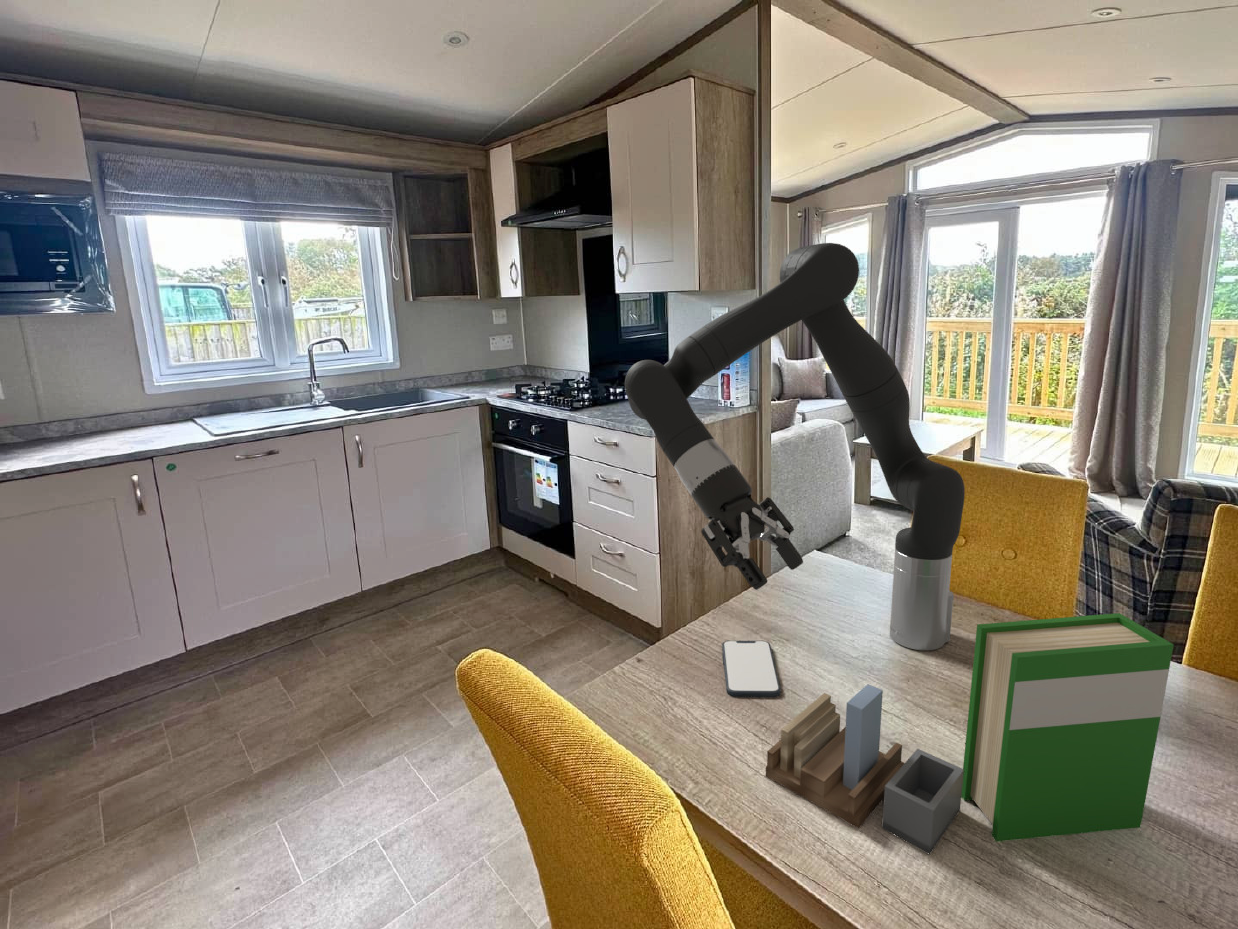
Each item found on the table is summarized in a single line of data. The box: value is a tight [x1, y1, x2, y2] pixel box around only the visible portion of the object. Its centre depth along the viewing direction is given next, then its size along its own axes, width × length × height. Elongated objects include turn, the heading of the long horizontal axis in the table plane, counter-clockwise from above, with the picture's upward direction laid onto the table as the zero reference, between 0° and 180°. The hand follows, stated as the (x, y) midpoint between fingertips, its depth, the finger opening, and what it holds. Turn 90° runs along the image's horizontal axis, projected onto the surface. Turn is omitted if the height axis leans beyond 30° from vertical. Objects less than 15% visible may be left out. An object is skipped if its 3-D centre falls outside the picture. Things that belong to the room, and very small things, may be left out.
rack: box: [765, 726, 905, 829], centre depth 89 cm, size 13×13×4 cm
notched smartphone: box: [721, 640, 782, 699], centre depth 115 cm, size 9×2×16 cm
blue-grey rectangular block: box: [843, 684, 884, 790], centre depth 85 cm, size 2×6×12 cm, turn 134°
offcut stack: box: [780, 692, 841, 778], centre depth 91 cm, size 3×11×6 cm, turn 134°
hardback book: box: [961, 612, 1174, 843], centre depth 79 cm, size 18×7×24 cm, turn 94°
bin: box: [881, 748, 964, 855], centre depth 81 cm, size 6×9×6 cm, turn 134°
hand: (780, 576), depth 89 cm, fingers open, 8 cm apart
